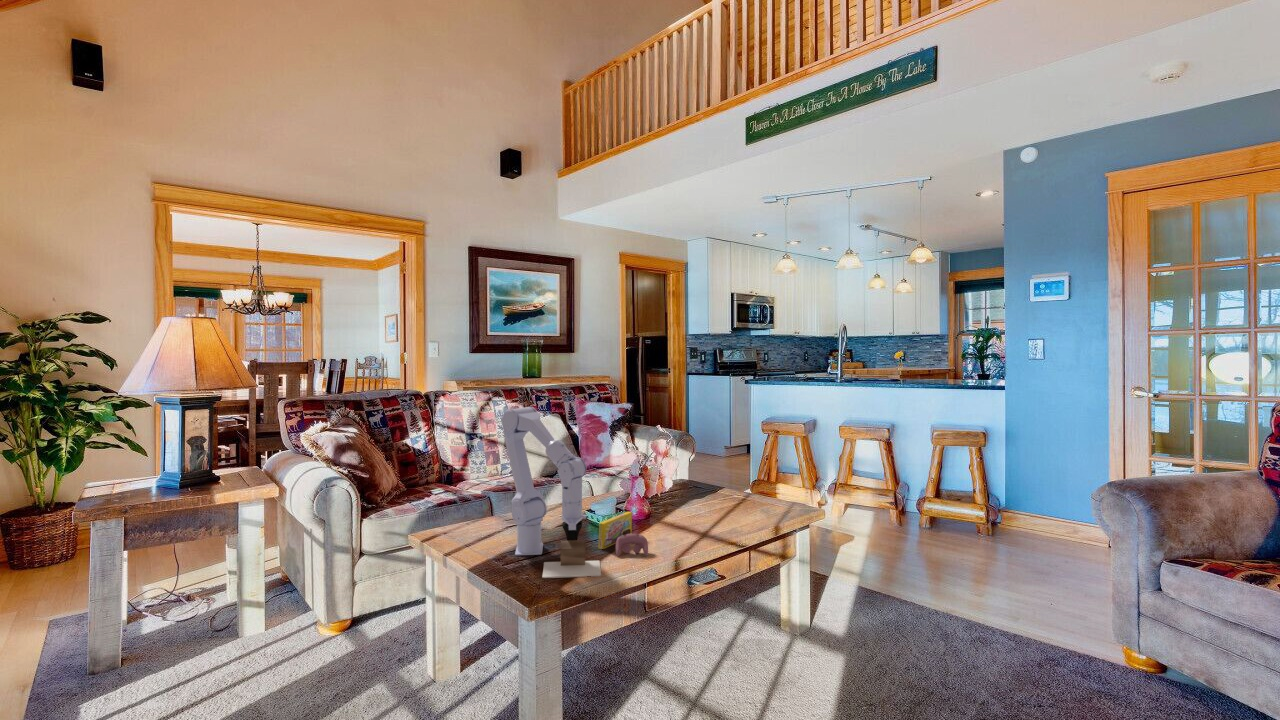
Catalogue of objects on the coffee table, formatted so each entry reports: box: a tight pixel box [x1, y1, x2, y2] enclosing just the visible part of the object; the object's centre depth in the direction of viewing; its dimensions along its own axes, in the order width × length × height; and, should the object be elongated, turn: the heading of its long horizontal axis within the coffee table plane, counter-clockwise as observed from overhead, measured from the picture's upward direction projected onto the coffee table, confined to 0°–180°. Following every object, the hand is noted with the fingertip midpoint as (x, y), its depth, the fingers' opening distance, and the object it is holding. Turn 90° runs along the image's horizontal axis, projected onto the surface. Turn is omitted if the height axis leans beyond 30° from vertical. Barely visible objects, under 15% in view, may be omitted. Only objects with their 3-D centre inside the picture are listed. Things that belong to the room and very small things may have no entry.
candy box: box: [597, 511, 633, 550], centre depth 197 cm, size 16×2×8 cm, turn 147°
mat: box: [541, 560, 602, 579], centre depth 173 cm, size 11×16×1 cm
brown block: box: [560, 539, 586, 566], centre depth 176 cm, size 4×7×6 cm, turn 96°
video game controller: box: [615, 533, 649, 557], centre depth 186 cm, size 10×5×7 cm, turn 93°
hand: (572, 547), depth 177 cm, fingers closed
